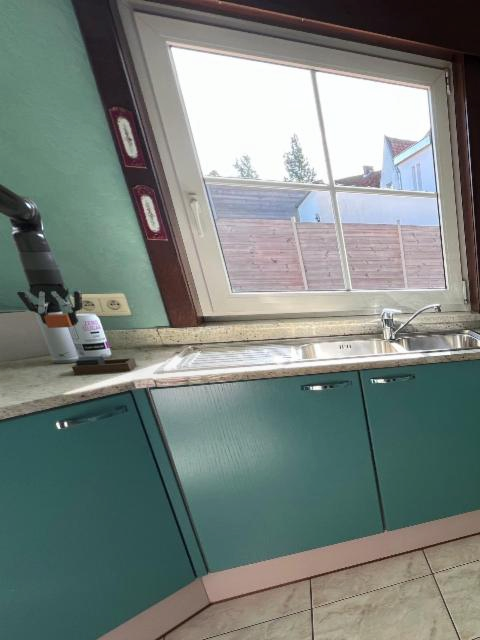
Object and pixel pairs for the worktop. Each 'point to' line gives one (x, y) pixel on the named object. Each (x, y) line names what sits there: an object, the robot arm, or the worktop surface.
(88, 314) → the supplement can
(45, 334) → the travel mug
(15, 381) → the worktop surface
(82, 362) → the pad
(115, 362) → the tray
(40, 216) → the robot arm
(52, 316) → the pad
